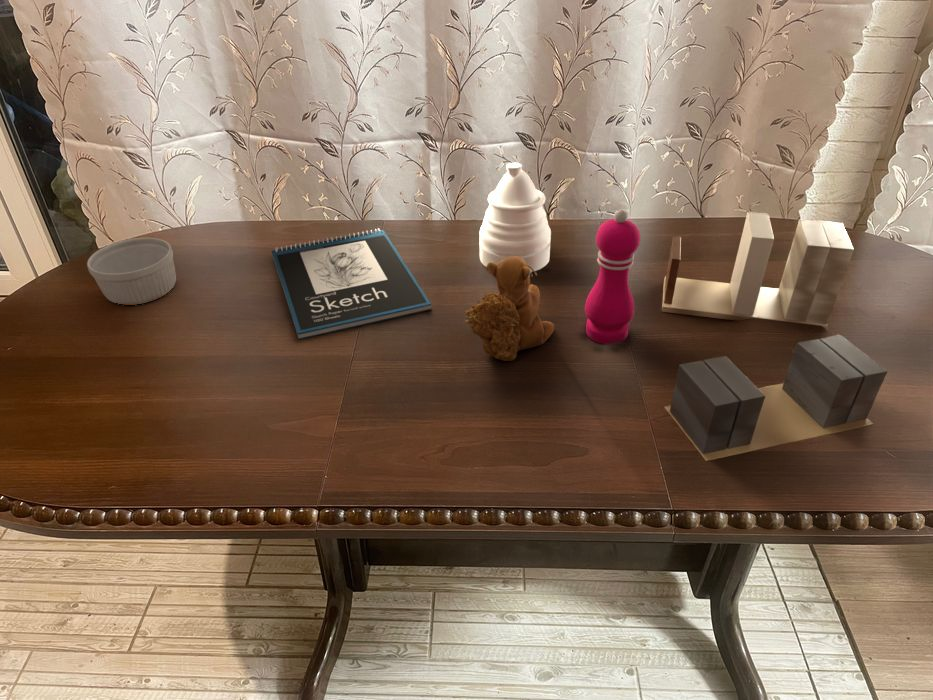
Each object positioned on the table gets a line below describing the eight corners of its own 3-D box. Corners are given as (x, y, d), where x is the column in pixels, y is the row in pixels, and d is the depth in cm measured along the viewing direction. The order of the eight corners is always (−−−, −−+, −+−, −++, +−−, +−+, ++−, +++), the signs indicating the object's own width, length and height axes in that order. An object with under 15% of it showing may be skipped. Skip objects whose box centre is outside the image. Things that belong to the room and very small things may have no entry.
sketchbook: (299, 341, 100) (296, 329, 99) (272, 256, 123) (270, 246, 122) (432, 310, 106) (431, 299, 105) (382, 234, 129) (381, 225, 128)
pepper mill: (619, 317, 103) (635, 197, 91) (638, 343, 97) (658, 218, 85) (575, 323, 102) (586, 202, 90) (592, 350, 96) (606, 224, 84)
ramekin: (191, 294, 112) (180, 258, 108) (109, 319, 106) (94, 282, 102) (171, 264, 121) (160, 230, 117) (94, 286, 115) (79, 251, 111)
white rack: (816, 298, 106) (842, 221, 98) (825, 331, 98) (854, 251, 90) (663, 281, 112) (676, 207, 104) (661, 311, 104) (675, 234, 96)
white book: (749, 286, 108) (768, 213, 100) (753, 315, 101) (774, 238, 93) (729, 284, 108) (747, 211, 101) (732, 313, 101) (751, 236, 94)
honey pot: (542, 277, 114) (547, 178, 103) (471, 269, 117) (469, 171, 106) (555, 245, 123) (561, 151, 113) (489, 238, 127) (489, 146, 116)
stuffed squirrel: (557, 328, 101) (562, 252, 93) (519, 379, 91) (521, 298, 83) (499, 313, 105) (499, 238, 97) (456, 360, 95) (453, 281, 87)
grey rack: (816, 381, 89) (836, 329, 84) (871, 430, 81) (895, 376, 76) (662, 412, 84) (673, 359, 80) (704, 466, 77) (719, 412, 72)
